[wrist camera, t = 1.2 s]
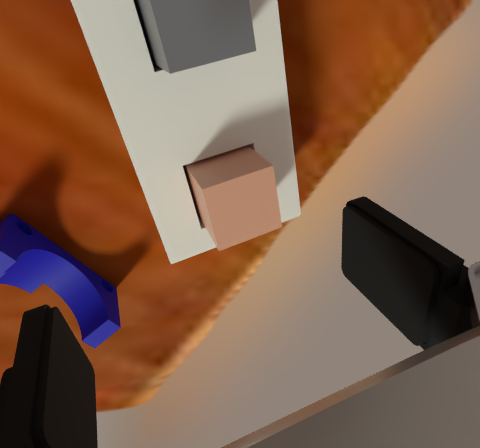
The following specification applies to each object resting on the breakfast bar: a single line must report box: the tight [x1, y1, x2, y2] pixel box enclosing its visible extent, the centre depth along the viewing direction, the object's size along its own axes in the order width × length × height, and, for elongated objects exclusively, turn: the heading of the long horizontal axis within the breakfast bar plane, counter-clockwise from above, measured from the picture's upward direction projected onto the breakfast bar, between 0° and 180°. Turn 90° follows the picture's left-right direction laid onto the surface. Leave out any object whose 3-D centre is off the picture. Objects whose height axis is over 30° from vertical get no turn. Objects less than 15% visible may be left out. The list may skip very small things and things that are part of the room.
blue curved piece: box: [0, 213, 121, 348], centre depth 31 cm, size 12×4×6 cm, turn 34°
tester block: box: [71, 0, 301, 264], centre depth 27 cm, size 22×12×7 cm, turn 11°
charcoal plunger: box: [133, 0, 256, 74], centre depth 21 cm, size 5×5×6 cm
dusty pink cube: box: [183, 145, 282, 251], centre depth 27 cm, size 5×5×6 cm
